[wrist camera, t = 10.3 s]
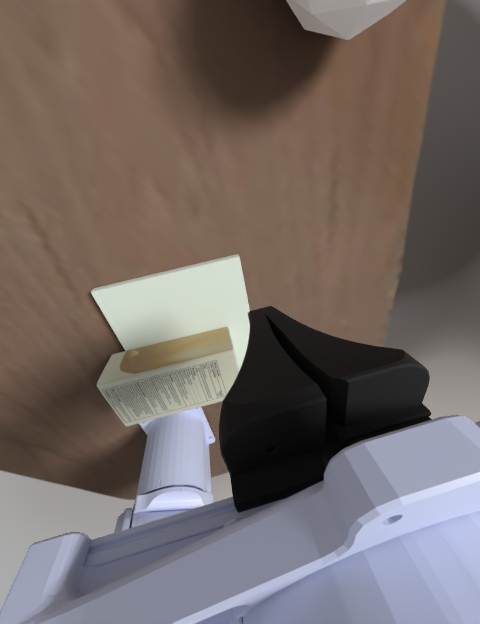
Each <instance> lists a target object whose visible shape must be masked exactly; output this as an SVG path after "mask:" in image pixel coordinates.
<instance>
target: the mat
mask: <svg viewBox="0 0 480 624" xmlns="http://www.w3.org/2000/svg"><path fill="white" fill-rule="evenodd" d="M91 294H92V295H93V297H94V299H95V301H96V302H97V304H98V306H99V307H100V309H101V311H102V312H103V314H104V316H105V317H106V319H107V321H108V322H109V324H110V326H111V328H112V329H113V331H114V333H115V334H116V336H117V338H118V339H119V341H120V343H121V344H122V346H123V348H124V349H125V351H128V350H132V349H137V348H141V347H145V346H149V345H153V344H157V343H161V342H165V341H170V340H174V339H178V338H182V337H186V336H191V335H194V334H199V333H203V332H207V331H211V330H215V329H220V328H224V327H228V328H229V331H230V334H231V338H232V342H233V346H234V350H235V354H236V358H237V362H238V366H239V370H240V368H241V366H242V363H243V360H244V357H245V354H246V350H247V345H248V340H249V332H250V323H249V318H248V313H249V311H250V310H249V305H248V299H247V294H246V289H245V284H244V278H243V273H242V268H241V262H240V257H239V255H238V254H236V255H232V256H228V257H224V258H219V259H215V260H211V261H207V262H203V263H198V264H194V265H190V266H186V267H182V268H177V269H173V270H169V271H165V272H161V273H156V274H152V275H148V276H144V277H140V278H135V279H131V280H127V281H123V282H119V283H115V284H110V285H106V286H102V287H98V288H94V289H93V290H92V291H91Z"/></svg>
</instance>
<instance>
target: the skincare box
mask: <svg viewBox="0 0 480 624" xmlns="http://www.w3.org/2000/svg"><path fill="white" fill-rule="evenodd" d="M239 371H240V370H239V366H238V362H237V358H236V354H235V350H234V346H233V342H232V338H231V334H230V331H229V328H228V327H224V328H220V329H215V330H211V331H207V332H203V333H199V334H194V335H191V336H186V337H182V338H178V339H174V340H170V341H165V342H161V343H157V344H153V345H149V346H145V347H141V348H137V349H132V350H128V351H124V352H120V353H116V354H112V355H111V357H110V359H109V361H108V363H107V365H106V366H105V368H104V370H103V372H102V374H101V376H100V378H99V380H98V382H97V387H98V389H99V390H100V392H101V393H102V395H103V396H104V398H105V399H106V400H107V402H108V403H109V405H110V406H111V407H112V409H113V410H114V411H115V413H116V414H117V416H118V417H119V418H120V420H121V421H122V422H123V423H124V425H125V426H131V425H134V424H138V423H142V422H146V421H149V420H153V419H157V418H161V417H164V416H168V415H172V414H176V413H179V412H183V411H187V410H190V409H194V408H198V407H202V406H205V405H209V404H213V403H217V402H220V401H223V400H224V398H225V397H226V395H227V393H228V392H229V390H230V388H231V387H232V385H233V383H234V381H235V379H236V377H237V375H238V373H239Z"/></svg>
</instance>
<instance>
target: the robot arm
mask: <svg viewBox="0 0 480 624" xmlns="http://www.w3.org/2000/svg"><path fill="white" fill-rule="evenodd" d="M248 318H249V323H250V332H249V340H248V345H247V350H246V354H245V357H244V360H243V363H242V366H241V368H240V371H239V373H238V375H237V377H236V379H235V381H234V383H233V385H232V387H231V388H230V390H229V392H228V393H227V395H226V397H225V398H224V400H223V403H222V409H221V415H220V423H219V440H220V449H221V454H222V457H223V459H224V462H225V464H226V466H227V469H228V471H229V473H230V477H231V485H232V493H233V497H231V498H227V499H224V500H221V501H217V502H214V503H213V495H212V493H210V491H211V475H210V457H209V444H211V443H214V442H215V437H214V435H213V432H212V430H211V428H210V426H209V423H208V421H207V419H206V416H205V414H204V412H203V409H202V407H198V408H194V409H190V410H187V411H183V412H179V413H176V414H172V415H168V416H164V417H161V418H157V419H153V420H149V421H146V422H142V423H139V424H140V426H141V427H142V429H143V430H144V431H145V433H146V434H147V442H146V447H145V452H144V458H143V463H142V468H141V474H140V479H139V485H138V490H137V495H136V500H135V503H134V507H133V510H132V508H127V509H126V510H125V511H124V513H122V514H121V515H120V516H119V517H118V519H117V524H116V528H115V532H114V533H113V534H109V535H106V536H103V537H100V538H96V539H93V540H91V539H90V538H89V537H88V536H87V535H85V534H84V533H80V532H71V533H66V534H63V535H59V536H56V537H53V538H49V539H46V540H43V541H39V542H36V543H34V544H32V545H31V546H30V547H29V549H28V551H27V554H26V556H25V558H24V560H23V562H22V565H21V567H20V569H19V571H18V574H17V575H16V578H15V580H14V582H13V584H12V586H11V589H10V591H9V593H8V595H7V597H6V600H5V602H4V604H3V606H2V609H1V611H0V624H480V421H479V422H476V423H473V422H472V421H471V420H469V419H468V418H466V417H464V416H460V415H451V416H444V417H439V418H436V419H433V420H432V419H430V418H429V416H430V415H431V412H430V410H429V409H427V408H426V407H425V406H424V405H423V404H422V401H423V398H424V396H425V393H426V390H427V388H428V384H429V378H430V377H429V372H428V370H427V369H426V368H425V367H424V366H423V365H422V364H420V363H419V362H418V361H416V360H415V359H414V358H413V357H411V356H410V355H409V354H408V353H406V352H405V351H403V350H399V349H393V348H385V347H377V346H371V345H366V344H361V343H356V342H352V341H348V340H344V339H341V338H337V337H334V336H331V335H328V334H325V333H322V332H320V331H317V330H315V329H312V328H310V327H308V326H306V325H304V324H301V323H300V322H298V321H296V320H294V319H292V318H290V317H289V316H287V315H285V314H284V313H282V312H280V311H279V310H277V309H275V308H274V307H272V306H269V307H265V308H261V309H257V310H253V311H249V313H248Z"/></svg>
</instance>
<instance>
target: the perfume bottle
mask: <svg viewBox="0 0 480 624" xmlns="http://www.w3.org/2000/svg"><path fill="white" fill-rule="evenodd" d="M286 1H287V3H288V4H289V6H290V7H291V9H292V11H293V12H294V14H295V15H296V17H297V19H298V20H299V22H300V23H301V25H302V27H303V28H304V30H309V31H313V32H317V33H321V34H325V35H329V36H334V37H338V38H342V39H346V40H350V39H351V38H353V37H354V36H356V35H357V34H359V33H360V32H362V31H363V30H365V29H366V28H368V27H369V26H371V25H373V24H374V23H376V22H377V21H379V20H380V19H382V18H383V17H385V16H386V15H388V14H389V13H391V12H392V11H393V10H394V9H396V8H397V7H398V6H400V5H401V4H402V3H404V2H405V1H406V0H286Z"/></svg>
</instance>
